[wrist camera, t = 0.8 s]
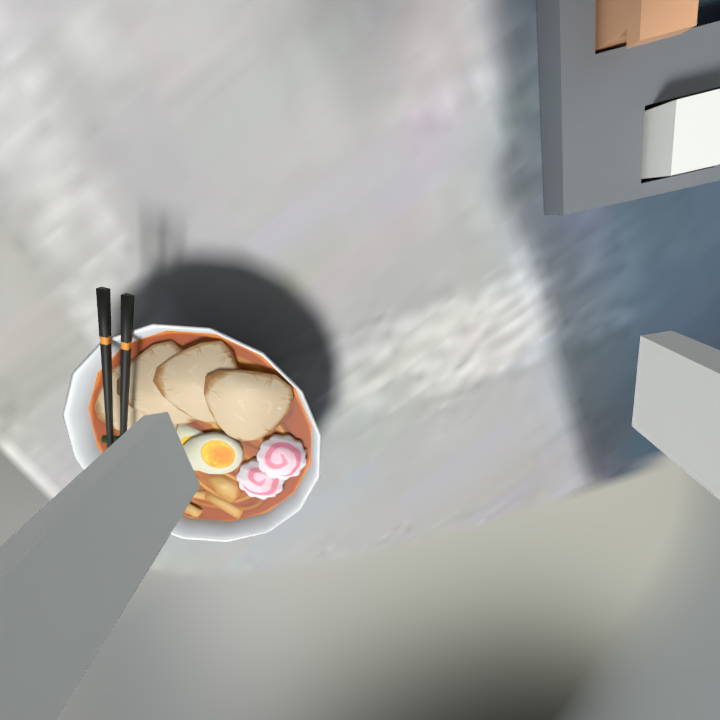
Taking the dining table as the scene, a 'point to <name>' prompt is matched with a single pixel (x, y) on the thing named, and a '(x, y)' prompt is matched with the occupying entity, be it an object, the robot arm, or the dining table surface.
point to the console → (610, 106)
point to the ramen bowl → (201, 419)
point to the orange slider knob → (641, 21)
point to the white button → (682, 135)
